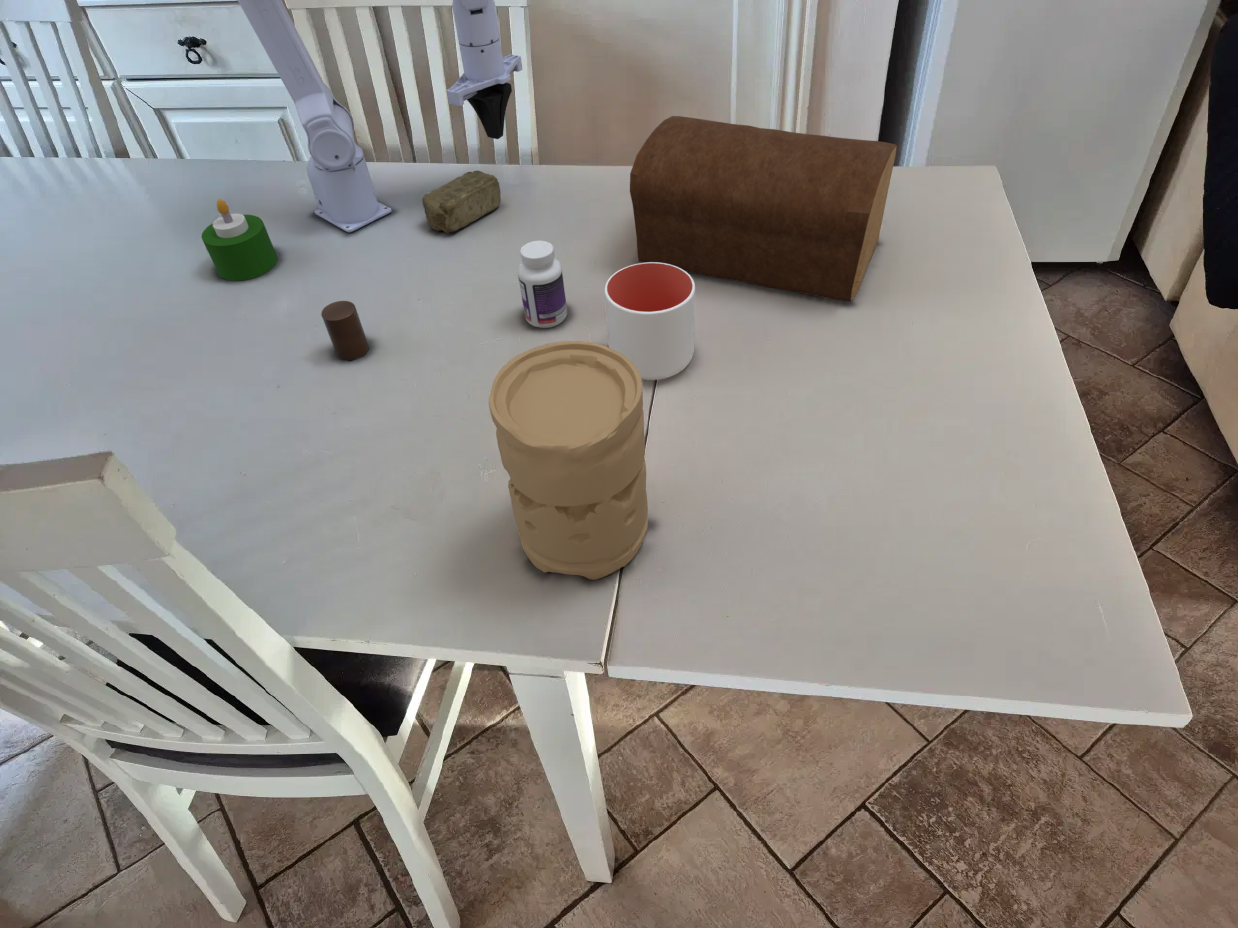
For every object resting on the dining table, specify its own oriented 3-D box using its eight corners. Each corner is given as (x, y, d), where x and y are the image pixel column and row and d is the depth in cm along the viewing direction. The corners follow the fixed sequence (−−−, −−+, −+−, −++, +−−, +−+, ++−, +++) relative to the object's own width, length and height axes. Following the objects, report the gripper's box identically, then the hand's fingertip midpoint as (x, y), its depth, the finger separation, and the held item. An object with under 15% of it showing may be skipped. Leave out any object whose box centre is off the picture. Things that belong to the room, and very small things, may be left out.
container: (655, 574, 75) (650, 434, 62) (519, 587, 74) (485, 449, 61) (641, 475, 83) (634, 334, 70) (519, 487, 83) (490, 347, 70)
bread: (677, 204, 121) (677, 95, 110) (880, 237, 112) (904, 121, 100) (630, 268, 110) (624, 153, 98) (851, 311, 101) (874, 190, 89)
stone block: (505, 206, 124) (500, 175, 120) (449, 239, 118) (442, 208, 114) (479, 195, 126) (473, 165, 123) (423, 228, 121) (415, 196, 117)
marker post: (330, 352, 101) (314, 312, 96) (356, 336, 103) (342, 296, 98) (348, 364, 99) (333, 324, 94) (375, 348, 101) (361, 308, 96)
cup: (703, 339, 98) (705, 268, 91) (680, 392, 92) (680, 319, 85) (625, 326, 101) (621, 256, 94) (597, 377, 95) (591, 305, 87)
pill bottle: (574, 309, 104) (567, 241, 97) (555, 333, 101) (546, 265, 94) (538, 300, 106) (528, 233, 99) (517, 323, 103) (505, 256, 96)
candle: (231, 287, 112) (201, 222, 105) (208, 264, 116) (177, 200, 109) (287, 264, 115) (261, 199, 108) (262, 242, 120) (236, 178, 113)
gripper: (468, 62, 106) (485, 162, 116) (533, 26, 114) (545, 122, 124) (427, 54, 109) (448, 152, 119) (494, 19, 117) (508, 114, 127)
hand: (495, 136), depth 121 cm, fingers closed
